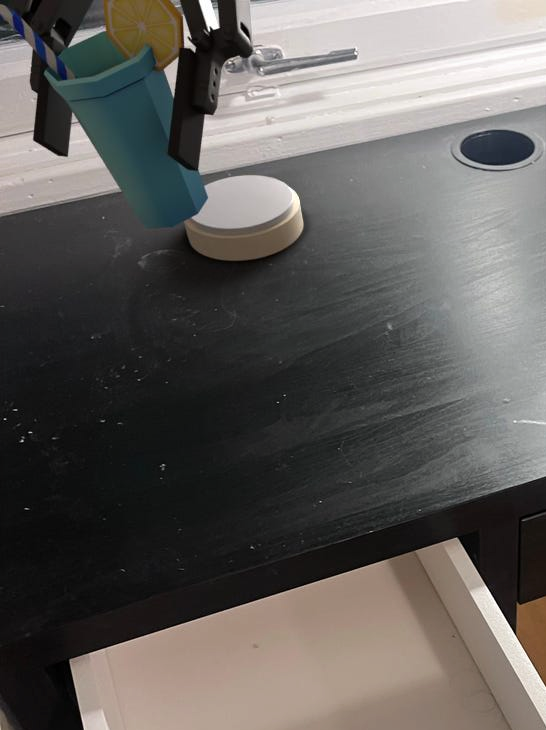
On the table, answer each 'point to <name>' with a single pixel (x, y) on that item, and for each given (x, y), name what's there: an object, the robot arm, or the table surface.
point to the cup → (128, 103)
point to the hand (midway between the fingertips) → (116, 155)
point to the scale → (245, 218)
